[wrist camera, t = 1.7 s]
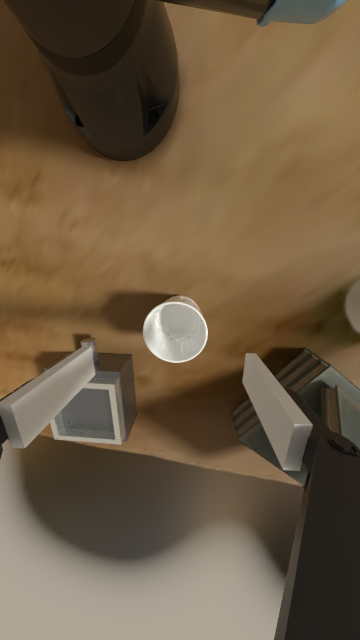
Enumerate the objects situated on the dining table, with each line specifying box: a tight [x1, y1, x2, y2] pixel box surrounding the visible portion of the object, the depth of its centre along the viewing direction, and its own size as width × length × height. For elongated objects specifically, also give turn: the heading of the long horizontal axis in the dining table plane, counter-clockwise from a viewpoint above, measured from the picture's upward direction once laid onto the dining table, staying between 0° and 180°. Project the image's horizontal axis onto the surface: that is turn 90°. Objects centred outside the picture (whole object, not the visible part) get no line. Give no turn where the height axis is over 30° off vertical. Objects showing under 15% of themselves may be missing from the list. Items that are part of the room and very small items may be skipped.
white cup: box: [143, 295, 208, 363], centre depth 25 cm, size 8×8×10 cm
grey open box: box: [44, 338, 137, 445], centre depth 31 cm, size 19×13×8 cm
